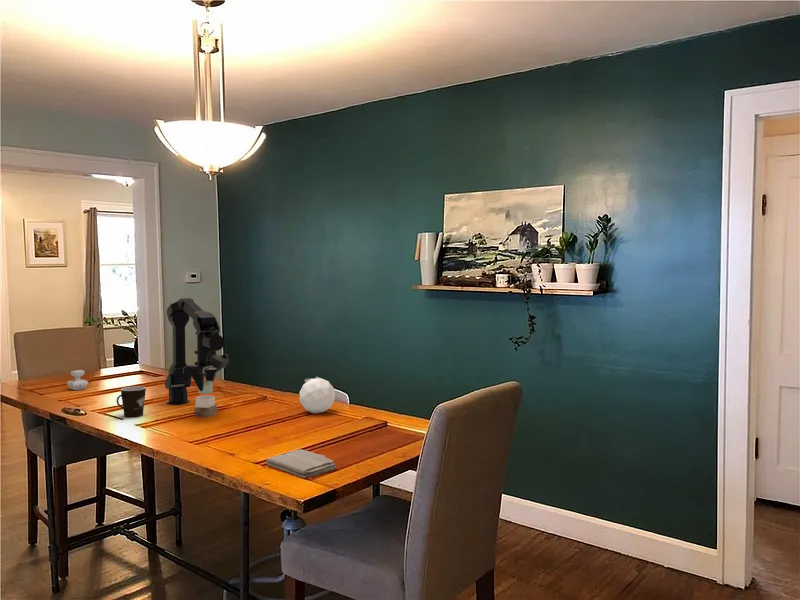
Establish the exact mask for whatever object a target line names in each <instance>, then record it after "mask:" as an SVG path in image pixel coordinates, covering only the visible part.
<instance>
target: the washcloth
mask: <svg viewBox="0 0 800 600" xmlns="http://www.w3.org/2000/svg"><path fill="white" fill-rule="evenodd" d="M266 465H267V466H269V467H270V466H271V467H273V468H275V469H278V470H281V471H284V472H286V473H290V474H292V475H294V476H297V477H300V478H303V479H306V478H310V477H314V476H318V475H321V474H324V473H327V472H331V471H334V470H336V469H337V466H336V463H335V462H334V459H330V458H327V457H326V456H325V455H324V454H319V453H314V452H313V451H309V450H305V449H302V448H301V449H296V450H292V451H288V452H287V453H283V454H280V455H275V456H273V457H272V456H271V457H269V458H267V459H266Z"/></svg>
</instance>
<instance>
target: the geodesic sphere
mask: <svg viewBox="0 0 800 600" xmlns="http://www.w3.org/2000/svg"><path fill="white" fill-rule="evenodd" d="M304 382H305V383H304V384H303V385H302V387H301V389H300V391H299V402H300V404H301V405H302V407H303V408H304V409H305V410H306V411H307V412H310V413H311V414H320V413H324V412H326V411H327V410H329V409H330V408H331V407H332V406H333V405H334V404H333V403H334V402H335V400H336V399H335V398H336V395H335V394H336V393H335V388H334V386H332V384H331V383H330V381H328V380H326V379H324V378H321V377H319V376H315V378H305V379H304Z"/></svg>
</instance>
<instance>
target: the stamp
mask: <svg viewBox="0 0 800 600" xmlns="http://www.w3.org/2000/svg"><path fill="white" fill-rule="evenodd" d="M85 372H86V371H85V370H83V369H78V370H70V375H71V376H72V377H74V380H68V381H67V382H66V385H67V386H68V387H69V388H70V390H74V391H82V390H85V389H86V388H87V387H88V386H89V382H88V380H85V379H81V377H83V376H84V374H85Z"/></svg>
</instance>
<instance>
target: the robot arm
mask: <svg viewBox="0 0 800 600" xmlns="http://www.w3.org/2000/svg"><path fill="white" fill-rule="evenodd" d="M166 316H167V321H168V322H169V324H170V325H171V326H172V363H171V365H170V367H169V369H168V374H167V377H166V378H165V381H164V387H165V389H168V401H166V404H170V405H183V404H185V403H189V402H190V399H188V398H189V397H188V390H187V389H188V388H191V383H192V379H193V381H194V383H195V385H196V387H197V390H198V391H199V390H200V391H203V383H204V381H213V382H214V381H215V377H216V375H217V374H218V373H219V372H221V370H222V369H226V368H227V364H230V357H229V354H227V353H223V354H222V355H220V354H217V351H220V350H222V349H223V347H225V340H224V338H223V336H222V335H220V333H221V330H220V329H221V327H220V325H219V323H218V320H217V317H216V316H215V314H213V313H212V312H209V311H205V310H203V309H202V308H201V307H200V306H199V305H197V303H195V301H194V299H193V298H190V297H188V298H187V297H186V298H179V299H178V300H177V301H175V302H173V303H170V305H169V306H168V307H167V308H166ZM190 318H191V320H192V325H193V327H194V329H195V331H196V332H195V335H196V350H194V354H195V355H196V361H194V364H187V362H186V326H187V324H188V323H189V321H190Z"/></svg>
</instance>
